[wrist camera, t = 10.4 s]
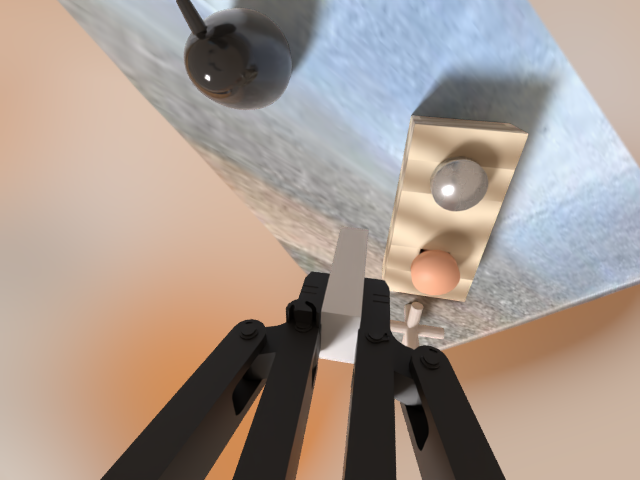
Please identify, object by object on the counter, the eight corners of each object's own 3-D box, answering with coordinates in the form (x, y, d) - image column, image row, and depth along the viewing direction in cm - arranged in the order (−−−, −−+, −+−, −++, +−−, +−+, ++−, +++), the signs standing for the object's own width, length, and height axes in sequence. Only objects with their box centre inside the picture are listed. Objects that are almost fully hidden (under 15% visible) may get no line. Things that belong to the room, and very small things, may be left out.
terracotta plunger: (412, 227, 46) (416, 255, 40) (454, 232, 46) (466, 261, 39) (404, 260, 49) (407, 291, 43) (444, 266, 49) (453, 298, 42)
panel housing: (411, 115, 40) (415, 124, 35) (509, 123, 39) (528, 133, 34) (382, 266, 53) (382, 289, 48) (456, 277, 51) (464, 301, 46)
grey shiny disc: (430, 142, 41) (438, 158, 35) (478, 146, 40) (496, 164, 34) (420, 185, 44) (426, 208, 38) (464, 190, 43) (478, 214, 37)
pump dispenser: (281, -4, 37) (226, -35, 24) (309, 90, 41) (275, 108, 28) (208, 28, 40) (123, 16, 27) (241, 113, 44) (183, 138, 31)
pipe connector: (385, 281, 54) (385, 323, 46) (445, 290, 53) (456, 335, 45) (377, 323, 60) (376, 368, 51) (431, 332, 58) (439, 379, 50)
